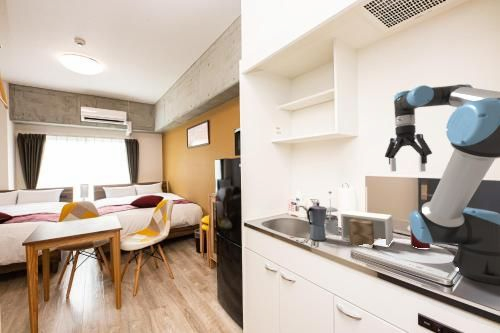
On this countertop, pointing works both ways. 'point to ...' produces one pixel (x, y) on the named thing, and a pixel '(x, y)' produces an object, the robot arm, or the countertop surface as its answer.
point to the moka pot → (317, 222)
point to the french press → (331, 221)
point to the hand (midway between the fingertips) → (406, 171)
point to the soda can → (417, 241)
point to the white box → (380, 221)
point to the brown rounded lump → (361, 232)
